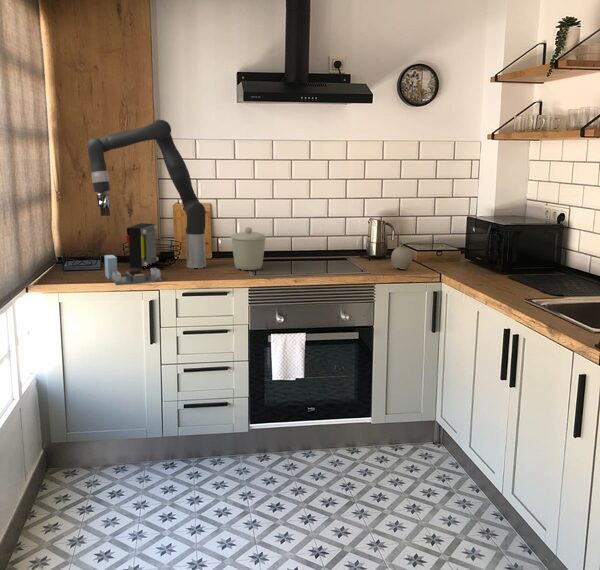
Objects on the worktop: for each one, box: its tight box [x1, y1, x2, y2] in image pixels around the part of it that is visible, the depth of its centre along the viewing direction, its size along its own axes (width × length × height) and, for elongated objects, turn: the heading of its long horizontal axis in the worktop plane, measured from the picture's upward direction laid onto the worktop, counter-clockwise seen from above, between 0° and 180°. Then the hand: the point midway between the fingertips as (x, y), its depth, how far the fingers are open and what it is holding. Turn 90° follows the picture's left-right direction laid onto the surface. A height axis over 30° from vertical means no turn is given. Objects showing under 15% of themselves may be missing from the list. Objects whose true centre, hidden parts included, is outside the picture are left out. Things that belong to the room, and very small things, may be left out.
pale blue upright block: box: [103, 254, 118, 280], centre depth 327 cm, size 8×4×10 cm, turn 26°
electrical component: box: [125, 222, 159, 269], centre depth 356 cm, size 18×10×20 cm, turn 168°
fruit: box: [390, 241, 413, 269], centre depth 356 cm, size 10×12×15 cm
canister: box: [229, 226, 268, 271], centre depth 350 cm, size 18×18×21 cm
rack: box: [110, 267, 163, 286], centre depth 322 cm, size 12×21×4 cm, turn 116°
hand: (105, 215), depth 331 cm, fingers open, 8 cm apart
